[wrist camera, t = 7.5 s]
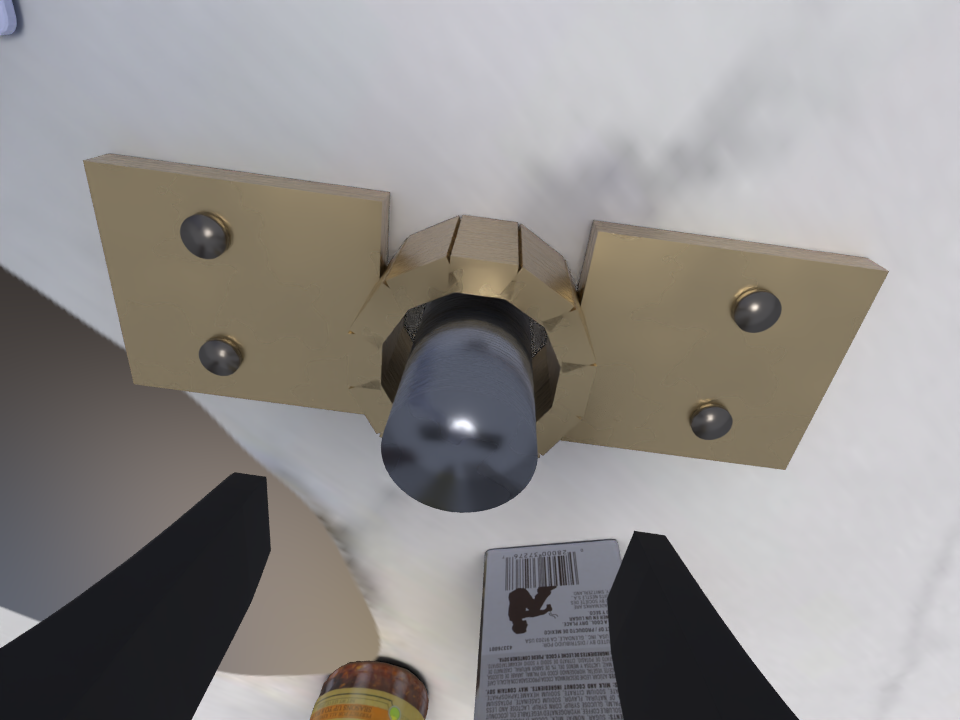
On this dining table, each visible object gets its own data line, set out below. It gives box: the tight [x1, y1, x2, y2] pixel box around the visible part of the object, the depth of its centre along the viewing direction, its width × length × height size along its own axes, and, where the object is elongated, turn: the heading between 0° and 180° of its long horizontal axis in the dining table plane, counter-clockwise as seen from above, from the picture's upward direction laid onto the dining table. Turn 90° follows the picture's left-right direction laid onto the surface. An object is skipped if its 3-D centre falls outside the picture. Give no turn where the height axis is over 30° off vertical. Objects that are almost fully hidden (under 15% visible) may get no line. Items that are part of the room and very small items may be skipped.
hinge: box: [83, 154, 889, 470], centre depth 18 cm, size 25×8×4 cm, turn 83°
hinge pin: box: [381, 292, 538, 513], centre depth 16 cm, size 4×4×8 cm
